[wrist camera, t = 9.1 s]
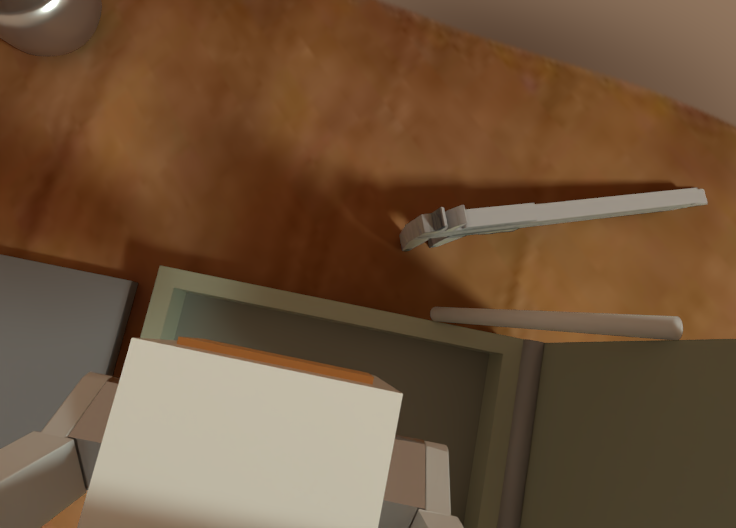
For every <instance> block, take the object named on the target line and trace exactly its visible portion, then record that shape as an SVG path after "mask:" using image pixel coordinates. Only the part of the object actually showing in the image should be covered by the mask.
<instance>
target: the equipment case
mask: <svg viewBox="0 0 736 528" xmlns="http://www.w3.org/2000/svg"><path fill="white" fill-rule="evenodd" d="M430 317H431V319H432V320H433V321H431V320H426V319H421V318H416V317H411V316H406V315H401V314H396V313H391V312H386V311H382V310H377V309H372V308H367V307H362V306H357V305H352V304H347V303H342V302H337V301H332V300H328V299H323V298H318V297H313V296H308V295H303V294H298V293H293V292H288V291H283V290H278V289H273V288H269V287H264V286H259V285H254V284H249V283H244V282H239V281H234V280H229V279H224V278H219V277H215V276H210V275H205V274H200V273H195V272H190V271H185V270H180V269H175V268H170V267H165V266H161V265H160V267H159V270H158V274H157V278H156V281H155V285H154V289H153V292H152V296H151V300H150V303H149V307H148V311H147V314H146V318H145V322H144V325H143V329H142V333H141V336H140V338H147V339H162V340H178V337H189V338H201V339H207V340H212V341H217V342H222V343H227V344H231V345H236V346H241V347H246V348H251V349H256V350H260V351H265V352H270V353H275V354H280V355H284V356H289V357H294V358H299V359H304V360H308V361H313V362H318V363H323V364H328V365H333V366H337V367H342V368H347V369H352V370H357V371H361V372H366V373H369V374H370V375H375V376H377V377H378V378H380V379H381V380H383V381H384V382H386V383H387V384H389V385H390V386H392V387H394V388H395V389H397V390H398V391H400V392H401V393H403V397H402V402H401V408H400V413H399V418H398V424H397V429H396V435H401V436H406V437H411V438H417V439H422V440H424V441H429V442H434V443H439V444H444V445H447V448H448V452H449V478H450V503H451V515H452V516H456V517H458V518H459V520H460V522H461V523H462V525H463V527H464V528H736V339H709V340H679V339H680V338H681V336H682V333H683V325H682V321H681V319H680V318H679V317H677V316H653V315H628V314H604V313H579V312H554V311H530V310H505V309H480V308H456V307H433V308H432V309H431V311H430ZM440 322H449V323H462V324H474V325H487V326H500V327H513V328H525V329H538V330H551V331H563V332H576V333H589V334H602V335H614V336H627V337H640V338H653V339H665V340H661V341H613V342H565V343H543V342H539V341H533V340H526V339H519V338H514V337H509V336H504V335H499V334H494V333H490V332H485V331H480V330H475V329H470V328H465V327H460V326H455V325H450V324H445V323H440Z"/></svg>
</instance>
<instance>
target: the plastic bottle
mask: <svg viewBox="0 0 736 528" xmlns="http://www.w3.org/2000/svg"><path fill="white" fill-rule="evenodd" d="M101 10H102V3H101V0H0V38H1V39H2V40H4V41H6V42H7V43H9V44H10V45H12V46H14V47H15V48H17V49H19V50H21V51H23V52H25V53H28V54H32V55H36V56H58V55H64V54H67V53H71V52H73V51H75V50H77V49H79V48H80V47H81V46H83V45H84V44H86V42H87V41H88V40H89V39H90V38H91V37H92V35H93V34H94V32H95V31H96V28H97V26H98V23H99V20H100V16H101Z"/></svg>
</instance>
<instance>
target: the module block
mask: <svg viewBox="0 0 736 528" xmlns="http://www.w3.org/2000/svg"><path fill="white" fill-rule="evenodd" d="M402 397H403V393H401V392H400V391H398V390H397V389H395V388H394V387H392V386H390V385H389V384H387V383H386V382H384V381H383V380H381V379H380V378H378V377H377V376H375V375H370V374H369V373H366V372H361V371H357V370H352V369H347V368H342V367H337V366H333V365H328V364H323V363H318V362H313V361H308V360H304V359H299V358H294V357H289V356H284V355H280V354H275V353H270V352H265V351H260V350H256V349H251V348H246V347H241V346H236V345H231V344H227V343H222V342H217V341H212V340H207V339H201V338H189V337H178V340H162V339H147V338H131V342H130V345H129V349H128V352H127V356H126V359H125V363H124V366H123V370H122V373H121V377H120V380H119V384H118V387H117V391H116V394H115V398H114V401H113V405H112V408H111V412H110V415H109V419H108V422H107V426H106V429H105V433H104V436H103V439H102V443H101V446H100V450H99V453H98V457H97V460H96V464H95V467H94V471H93V474H92V478H91V481H90V485H89V488H88V492H87V495H86V499H85V502H84V506H83V509H82V513H81V516H80V520H79V523H78V527H77V528H378V525H379V520H380V514H381V509H382V504H383V498H384V493H385V488H386V482H387V477H388V472H389V466H390V461H391V456H392V450H393V445H394V440H395V434H396V429H397V424H398V418H399V413H400V408H401V402H402Z"/></svg>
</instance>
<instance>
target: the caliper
mask: <svg viewBox="0 0 736 528" xmlns="http://www.w3.org/2000/svg"><path fill="white" fill-rule="evenodd" d="M705 204H708V203H707V199H706V196H705V192H704V189H697V188H688V189H678V190H668V191H659V192H649V193H639V194H630V195H620V196H610V197H601V198H591V199H582V200H572V201H563V202H553V203H543V204H534V203H525V204H515V205H505V206H495V207H485V208H475V209H465V207H464V205H460V206H457V207H455V208H452V209H449V210H447V211H445V210H444V207H440V208H439V209H437V210H436V211H434V212H433V213H430V214H421V215H420V216H418V217H417V218H415V219H414V220H412V221H411V222H409V223H408V224H406V225H405V227H404V228H403V230H402V231H401V233H400V235H399V236H400V241H401V247H402V251H410V250H411V249H413V248H415V247H416V246H418V245H420V244H422V243H424V242H425V241H427V240H428V244H429V248H430V247H437V246H440V245H443V244H445V243H448V242H451V241H453V240H456V239H459V238H461V237H464V236H467V235H474V234H493V233H499V232H511V231H515V230H517V229H519V228H524V227H532V226H541V225H549V224H557V223H566V222H574V221H583V220H591V219H600V218H608V217H617V216H625V215H634V214H643V213H651V212H660V211H667V210H674V209H680V208H686V207H689V206H699V205H705Z"/></svg>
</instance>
